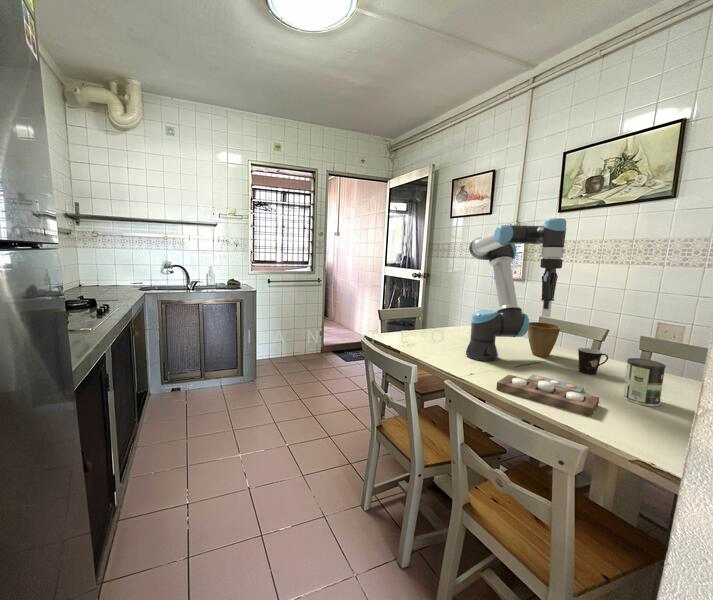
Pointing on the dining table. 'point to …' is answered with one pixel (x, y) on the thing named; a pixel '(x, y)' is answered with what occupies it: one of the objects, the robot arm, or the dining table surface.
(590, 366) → the coffee mug
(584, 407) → the button board
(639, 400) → the coffee can
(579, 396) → the button right
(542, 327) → the plant pot
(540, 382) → the button middle
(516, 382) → the button left
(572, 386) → the pattern sign
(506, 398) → the dining table surface
